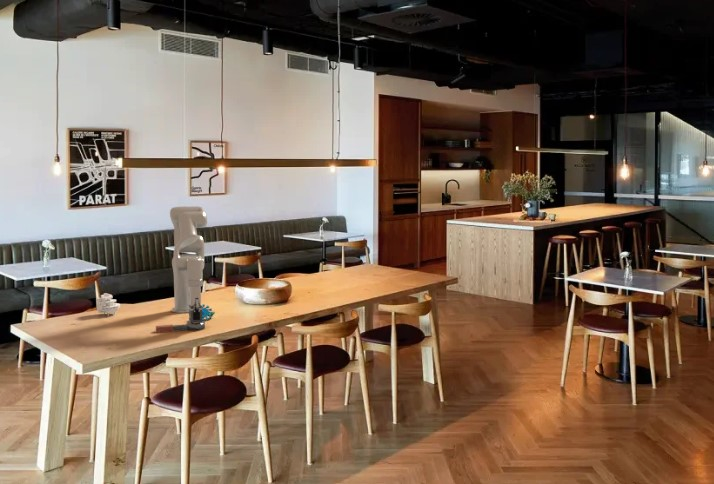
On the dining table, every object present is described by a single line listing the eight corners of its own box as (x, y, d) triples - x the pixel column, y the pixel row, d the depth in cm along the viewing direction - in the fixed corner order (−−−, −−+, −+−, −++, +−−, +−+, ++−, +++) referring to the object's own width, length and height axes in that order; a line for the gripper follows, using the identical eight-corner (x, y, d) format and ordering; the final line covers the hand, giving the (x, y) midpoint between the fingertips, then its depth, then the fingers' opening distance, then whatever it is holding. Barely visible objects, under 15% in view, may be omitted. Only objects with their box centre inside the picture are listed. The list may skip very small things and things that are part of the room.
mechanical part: (121, 315, 348) (120, 294, 347) (97, 317, 343) (96, 296, 341) (119, 311, 358) (118, 290, 357) (96, 313, 353) (95, 292, 352)
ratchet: (155, 329, 319) (154, 315, 319) (203, 325, 328) (203, 312, 328) (157, 334, 311) (156, 319, 310) (206, 329, 320) (206, 316, 319)
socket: (189, 320, 324) (188, 304, 323) (200, 319, 326) (200, 303, 325) (190, 322, 318) (190, 306, 318) (202, 321, 321) (202, 306, 320)
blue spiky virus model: (192, 318, 336) (194, 302, 342) (191, 324, 340) (193, 308, 347) (214, 320, 339) (215, 304, 345) (213, 326, 343) (214, 310, 349)
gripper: (184, 280, 326) (185, 315, 328) (189, 286, 311) (190, 323, 313) (199, 279, 329) (200, 314, 331) (205, 285, 314) (206, 321, 316)
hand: (195, 318), depth 322 cm, fingers closed on socket, 5 cm apart
